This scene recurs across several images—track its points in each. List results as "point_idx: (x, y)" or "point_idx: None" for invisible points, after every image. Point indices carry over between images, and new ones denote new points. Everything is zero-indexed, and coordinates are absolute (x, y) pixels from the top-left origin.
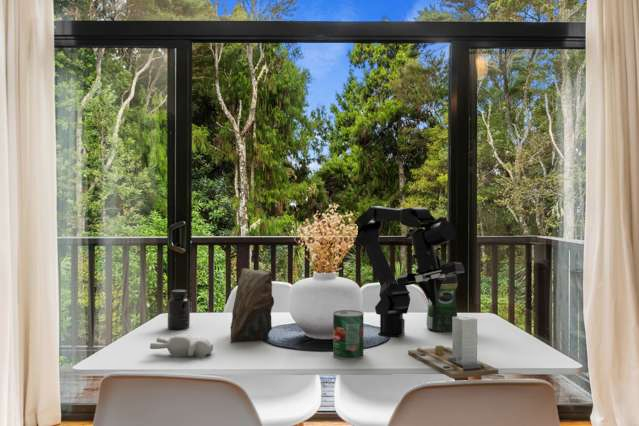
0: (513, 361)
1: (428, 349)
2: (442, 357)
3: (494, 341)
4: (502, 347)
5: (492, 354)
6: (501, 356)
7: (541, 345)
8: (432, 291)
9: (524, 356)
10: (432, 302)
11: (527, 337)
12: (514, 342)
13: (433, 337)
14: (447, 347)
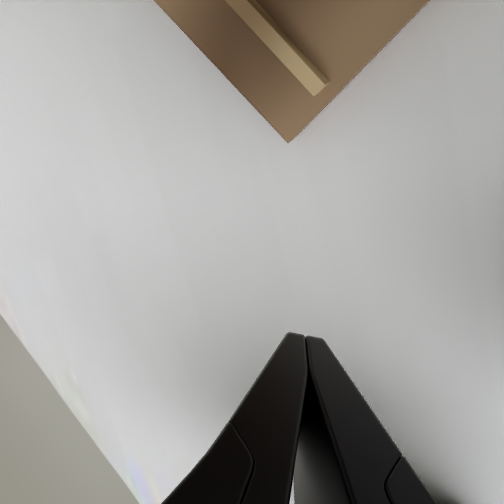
0: (4, 84)
1: (395, 7)
2: None
3: (167, 378)
4: (114, 296)
5: (103, 166)
6: (66, 147)
7: (36, 356)
8: (257, 450)
9: (11, 188)
10: (326, 358)
11: (102, 445)
12: (109, 377)
13: (436, 401)
14: (289, 131)
